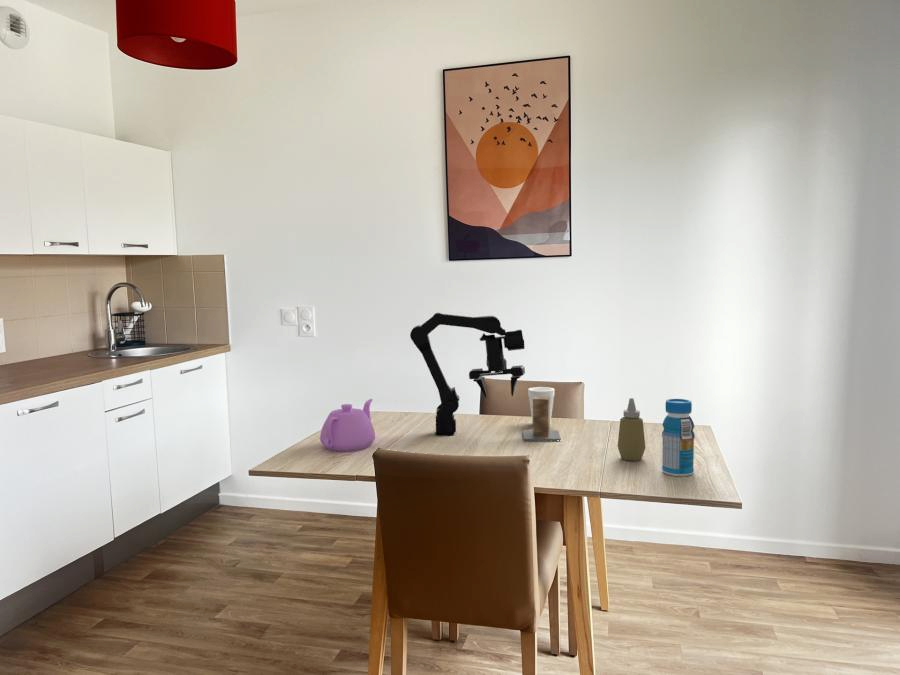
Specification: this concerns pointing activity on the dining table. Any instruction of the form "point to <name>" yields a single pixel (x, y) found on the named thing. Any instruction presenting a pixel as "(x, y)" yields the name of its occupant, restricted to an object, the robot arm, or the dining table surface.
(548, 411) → the walnut block
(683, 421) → the beverage bottle
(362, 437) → the teapot
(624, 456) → the squeeze bottle
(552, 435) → the slate coaster
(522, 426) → the dining table surface
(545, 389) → the foam cup
